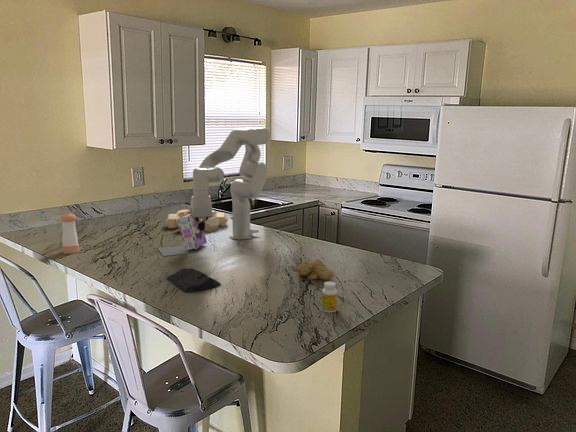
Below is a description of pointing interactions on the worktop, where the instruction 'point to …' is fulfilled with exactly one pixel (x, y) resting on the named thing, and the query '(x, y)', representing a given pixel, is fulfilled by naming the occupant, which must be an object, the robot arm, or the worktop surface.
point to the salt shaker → (69, 234)
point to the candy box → (191, 233)
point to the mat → (174, 251)
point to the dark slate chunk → (192, 281)
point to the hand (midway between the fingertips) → (201, 230)
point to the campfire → (210, 224)
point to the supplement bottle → (329, 297)
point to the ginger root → (315, 270)
